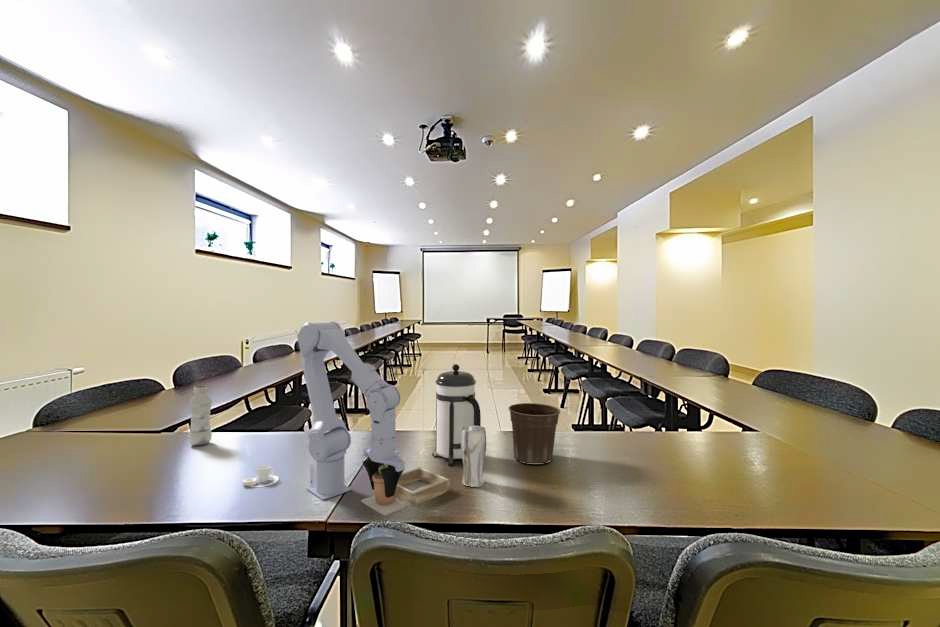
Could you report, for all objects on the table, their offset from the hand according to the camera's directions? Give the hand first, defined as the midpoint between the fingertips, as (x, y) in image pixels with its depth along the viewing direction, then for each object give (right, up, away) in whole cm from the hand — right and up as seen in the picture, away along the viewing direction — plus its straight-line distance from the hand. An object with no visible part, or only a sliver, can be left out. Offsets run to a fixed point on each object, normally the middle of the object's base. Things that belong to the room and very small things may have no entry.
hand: (383, 492), depth 102 cm
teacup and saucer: (-38, -3, +14) cm, 41 cm away
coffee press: (+18, -3, +31) cm, 36 cm away
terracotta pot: (+1, -2, 0) cm, 2 cm away
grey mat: (0, -3, 0) cm, 3 cm away
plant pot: (+42, -3, +32) cm, 52 cm away
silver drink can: (+22, -3, +13) cm, 26 cm away
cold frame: (+7, -3, +8) cm, 11 cm away
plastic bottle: (-72, -2, +42) cm, 83 cm away
